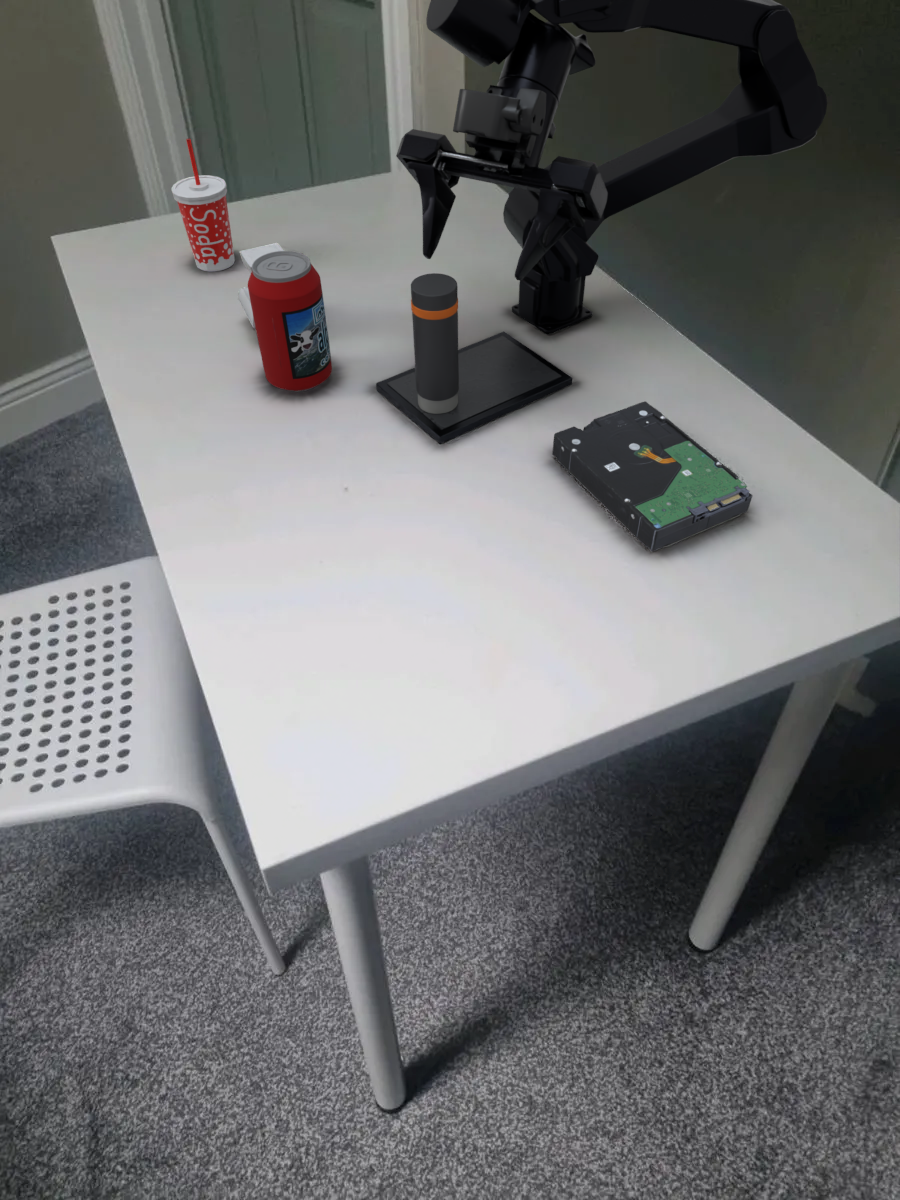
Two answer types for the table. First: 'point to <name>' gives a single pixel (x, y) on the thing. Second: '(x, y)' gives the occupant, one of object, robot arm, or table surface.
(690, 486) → the disk drive
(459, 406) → the tablet
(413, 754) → the table surface
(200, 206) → the beverage cup
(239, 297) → the stamp
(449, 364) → the flashlight
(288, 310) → the beverage can
